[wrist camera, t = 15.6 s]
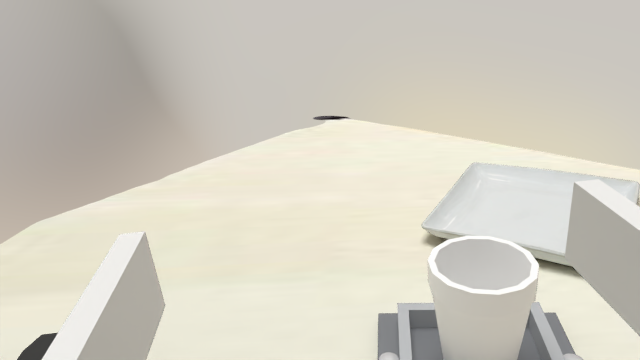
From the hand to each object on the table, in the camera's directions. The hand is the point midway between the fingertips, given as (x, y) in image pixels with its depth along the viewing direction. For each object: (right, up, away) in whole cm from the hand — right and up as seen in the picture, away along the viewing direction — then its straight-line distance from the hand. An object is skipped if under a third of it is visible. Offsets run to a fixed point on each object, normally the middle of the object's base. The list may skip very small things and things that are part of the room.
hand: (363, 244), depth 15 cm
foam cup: (+14, -17, +34) cm, 41 cm away
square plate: (+32, -5, +63) cm, 71 cm away
